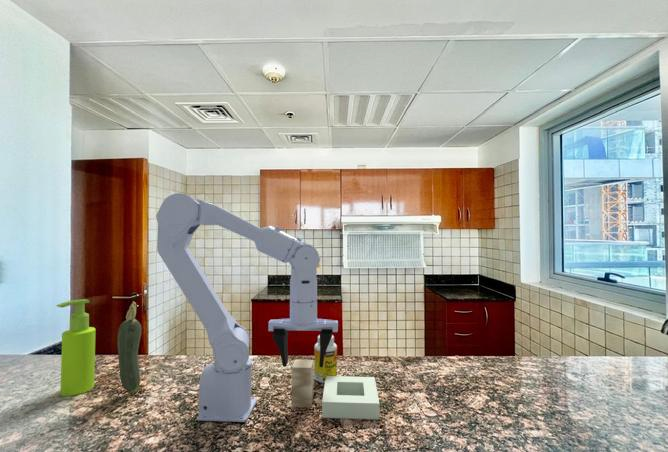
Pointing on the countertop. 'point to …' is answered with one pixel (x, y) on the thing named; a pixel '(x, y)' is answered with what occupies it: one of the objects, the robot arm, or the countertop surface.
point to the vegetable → (129, 351)
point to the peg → (302, 383)
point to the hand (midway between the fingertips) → (303, 365)
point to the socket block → (350, 398)
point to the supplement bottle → (325, 361)
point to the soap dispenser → (77, 352)
